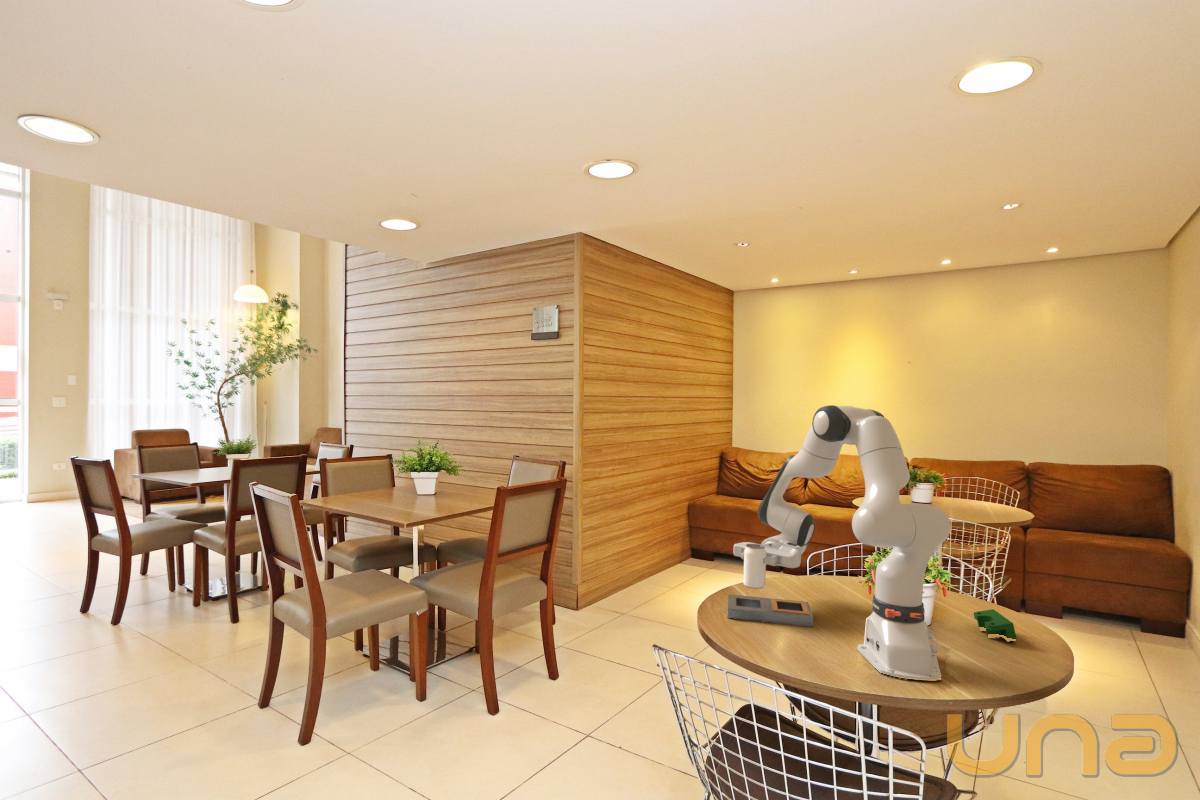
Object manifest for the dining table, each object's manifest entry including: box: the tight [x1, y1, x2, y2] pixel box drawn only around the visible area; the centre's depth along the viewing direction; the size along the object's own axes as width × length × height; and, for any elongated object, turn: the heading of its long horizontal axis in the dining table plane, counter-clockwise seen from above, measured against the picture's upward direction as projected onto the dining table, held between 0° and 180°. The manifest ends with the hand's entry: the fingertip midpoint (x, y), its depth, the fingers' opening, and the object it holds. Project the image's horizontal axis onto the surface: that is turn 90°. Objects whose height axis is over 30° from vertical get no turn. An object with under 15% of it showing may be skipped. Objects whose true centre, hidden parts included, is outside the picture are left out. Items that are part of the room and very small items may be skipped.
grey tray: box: [727, 594, 814, 628], centre depth 186 cm, size 13×24×3 cm, turn 78°
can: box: [743, 543, 767, 590], centre depth 187 cm, size 6×6×12 cm
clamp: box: [973, 608, 1018, 639], centre depth 175 cm, size 12×6×9 cm, turn 166°
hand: (753, 559), depth 186 cm, fingers closed on can, 5 cm apart
